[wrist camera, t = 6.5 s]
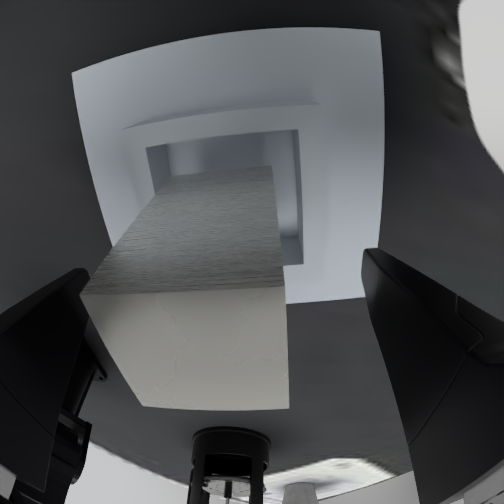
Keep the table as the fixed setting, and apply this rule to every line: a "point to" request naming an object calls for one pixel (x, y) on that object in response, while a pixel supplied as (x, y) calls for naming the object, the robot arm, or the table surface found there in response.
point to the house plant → (300, 494)
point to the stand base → (251, 136)
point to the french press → (228, 464)
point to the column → (199, 295)
